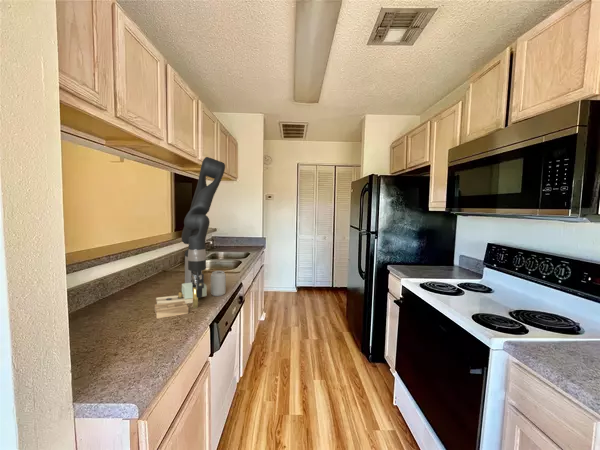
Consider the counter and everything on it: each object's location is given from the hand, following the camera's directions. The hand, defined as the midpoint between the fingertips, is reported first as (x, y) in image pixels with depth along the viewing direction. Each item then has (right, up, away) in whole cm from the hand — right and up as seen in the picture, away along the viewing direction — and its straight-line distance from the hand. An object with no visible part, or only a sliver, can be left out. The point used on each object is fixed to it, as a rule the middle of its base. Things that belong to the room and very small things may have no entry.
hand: (197, 294), depth 125 cm
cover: (-6, -3, +11) cm, 13 cm away
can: (+4, -5, +20) cm, 21 cm away
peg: (-1, -6, 0) cm, 6 cm away
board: (-13, -5, +7) cm, 16 cm away
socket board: (-9, -6, -6) cm, 12 cm away
